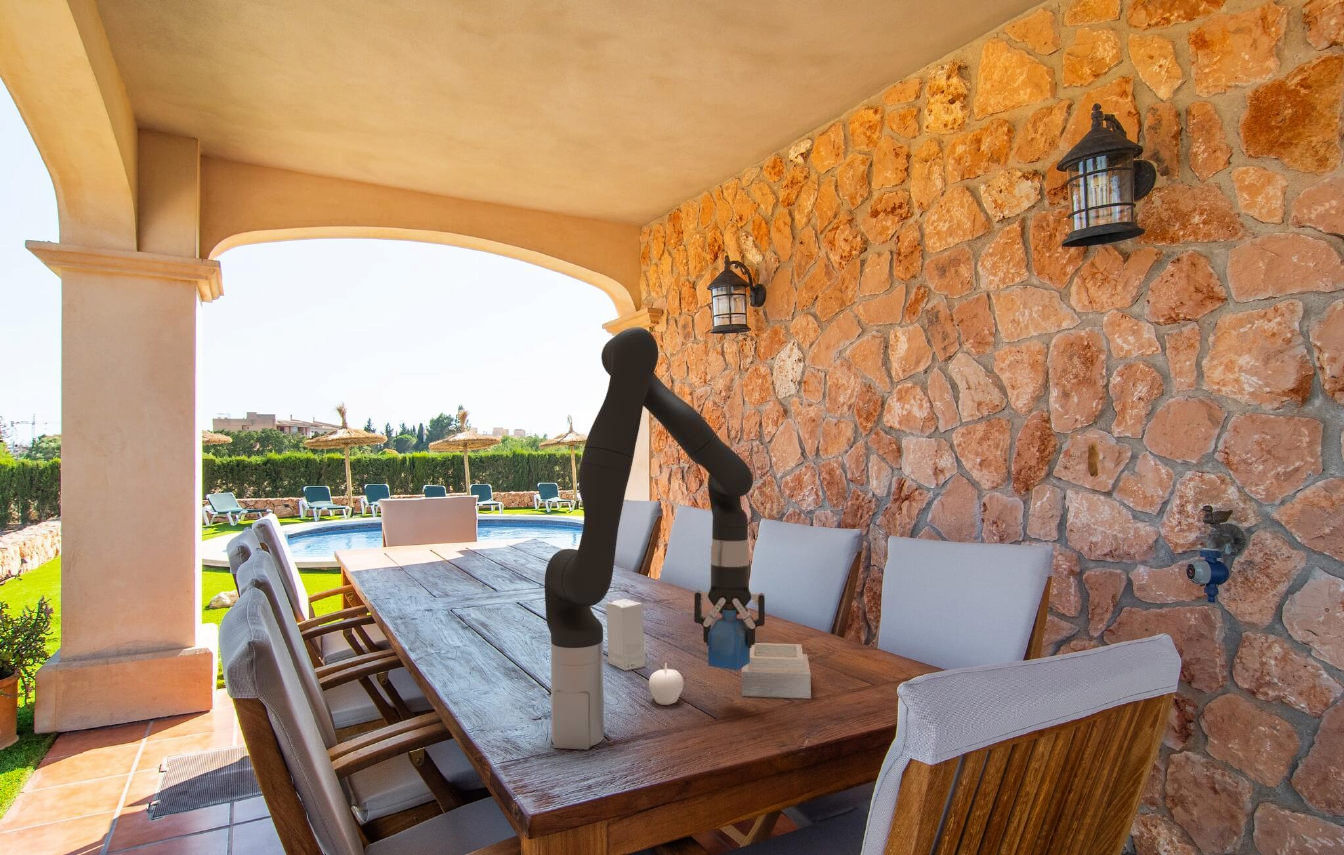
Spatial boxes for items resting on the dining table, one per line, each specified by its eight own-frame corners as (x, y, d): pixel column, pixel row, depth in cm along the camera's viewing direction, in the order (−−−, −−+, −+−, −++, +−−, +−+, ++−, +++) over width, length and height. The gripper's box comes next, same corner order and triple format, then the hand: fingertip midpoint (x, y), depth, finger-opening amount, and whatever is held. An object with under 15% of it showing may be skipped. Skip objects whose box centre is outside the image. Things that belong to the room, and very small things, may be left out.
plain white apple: (646, 707, 143) (645, 666, 143) (652, 695, 150) (651, 656, 150) (681, 709, 142) (681, 668, 142) (685, 696, 149) (685, 657, 149)
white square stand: (810, 698, 147) (810, 661, 147) (741, 696, 149) (741, 659, 149) (807, 676, 161) (806, 642, 161) (744, 674, 163) (743, 641, 163)
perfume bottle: (708, 665, 141) (708, 603, 141) (721, 658, 146) (721, 598, 147) (737, 670, 138) (737, 607, 138) (749, 662, 143) (750, 601, 144)
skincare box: (645, 667, 169) (645, 603, 169) (623, 672, 166) (622, 606, 166) (627, 658, 176) (627, 597, 176) (605, 663, 173) (605, 600, 173)
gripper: (691, 563, 140) (690, 649, 140) (766, 566, 138) (765, 653, 138) (695, 558, 148) (695, 639, 147) (766, 560, 146) (766, 642, 145)
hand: (729, 645), depth 142 cm, fingers closed on perfume bottle, 7 cm apart
